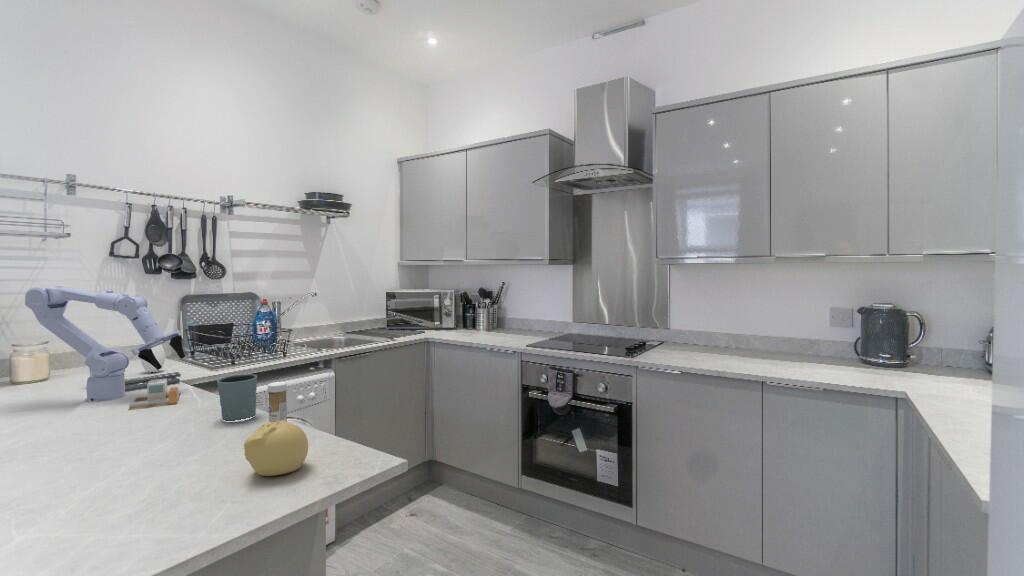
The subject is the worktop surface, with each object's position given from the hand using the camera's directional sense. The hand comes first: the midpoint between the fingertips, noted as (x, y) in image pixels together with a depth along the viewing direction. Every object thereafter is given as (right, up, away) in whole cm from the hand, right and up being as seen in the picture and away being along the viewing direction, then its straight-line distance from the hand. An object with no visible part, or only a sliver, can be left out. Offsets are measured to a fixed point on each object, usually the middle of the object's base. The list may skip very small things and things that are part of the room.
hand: (171, 363), depth 159 cm
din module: (-2, -11, -3) cm, 12 cm away
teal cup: (+34, -13, -19) cm, 41 cm away
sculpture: (+63, -15, -55) cm, 85 cm away
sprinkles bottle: (+52, -14, -32) cm, 62 cm away
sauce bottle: (-38, -11, +42) cm, 57 cm away
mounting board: (0, -13, -6) cm, 14 cm away
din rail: (+2, -11, -10) cm, 15 cm away
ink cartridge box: (-38, -12, +19) cm, 44 cm away
